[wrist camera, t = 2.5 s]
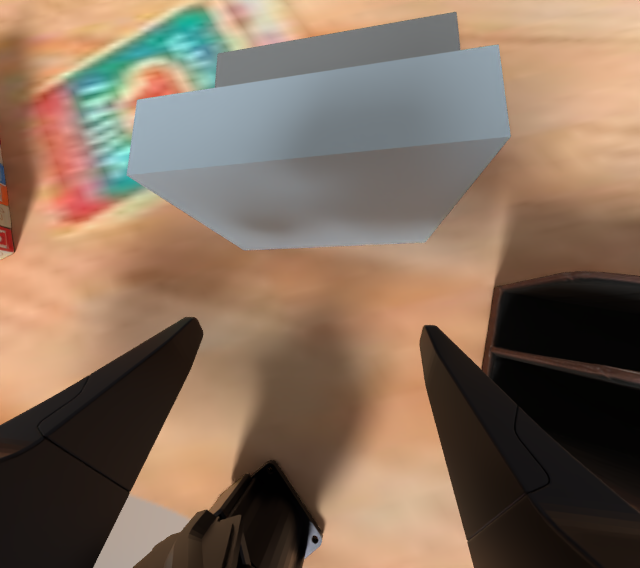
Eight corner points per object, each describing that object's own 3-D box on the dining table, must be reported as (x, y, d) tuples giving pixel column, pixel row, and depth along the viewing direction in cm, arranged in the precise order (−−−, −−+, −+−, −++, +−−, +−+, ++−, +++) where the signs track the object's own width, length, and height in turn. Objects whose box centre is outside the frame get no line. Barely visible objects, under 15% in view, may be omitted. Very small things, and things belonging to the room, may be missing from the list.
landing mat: (470, 171, 21) (472, 168, 21) (208, 193, 25) (206, 191, 24) (454, 16, 24) (456, 11, 23) (219, 57, 27) (217, 53, 27)
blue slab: (425, 242, 21) (510, 136, 9) (244, 250, 23) (126, 175, 11) (422, 197, 21) (498, 44, 10) (246, 210, 24) (137, 99, 12)
